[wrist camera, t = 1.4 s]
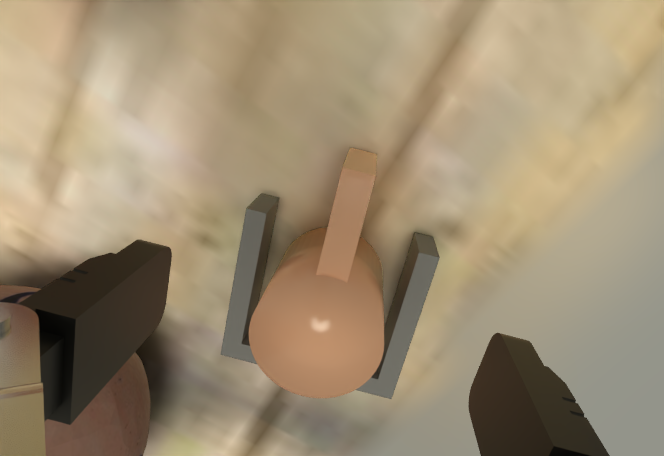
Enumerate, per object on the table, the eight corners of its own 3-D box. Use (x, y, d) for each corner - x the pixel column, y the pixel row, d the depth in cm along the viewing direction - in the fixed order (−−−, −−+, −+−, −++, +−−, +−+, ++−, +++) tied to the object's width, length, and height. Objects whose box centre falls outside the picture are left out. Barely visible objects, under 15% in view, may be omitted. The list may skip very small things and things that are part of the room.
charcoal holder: (261, 193, 30) (246, 208, 26) (432, 236, 29) (439, 257, 26) (236, 326, 33) (220, 354, 30) (390, 366, 33) (391, 399, 29)
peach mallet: (308, 133, 28) (283, 154, 20) (420, 160, 28) (434, 193, 20) (271, 307, 32) (238, 379, 25) (368, 332, 32) (364, 412, 25)
